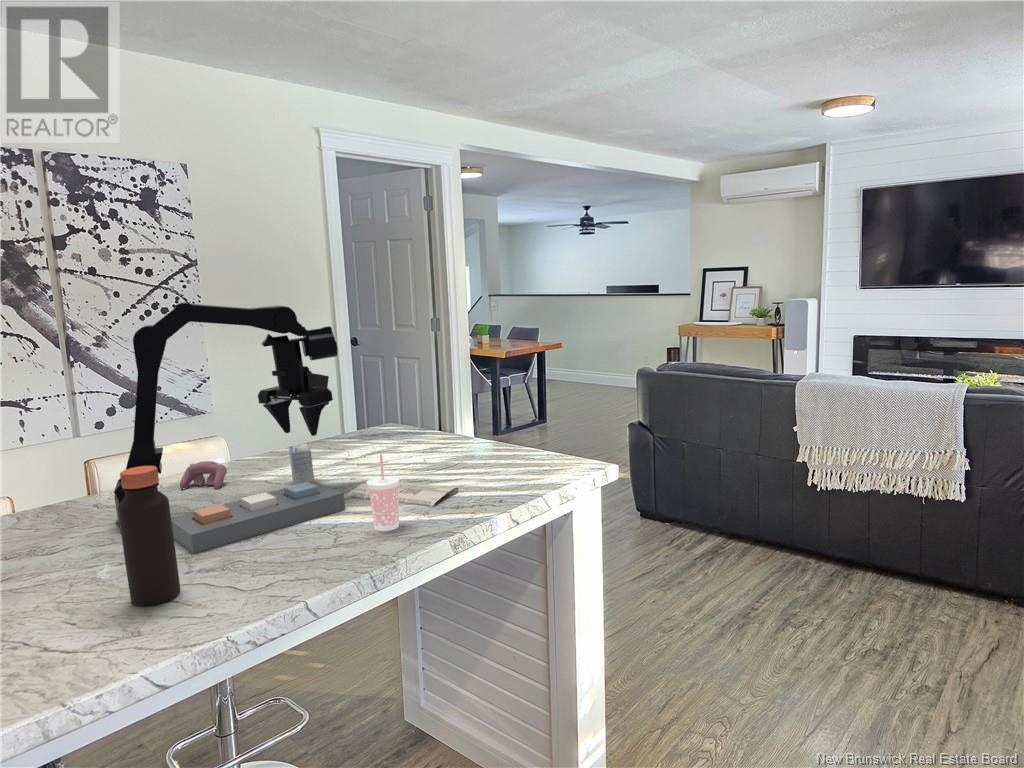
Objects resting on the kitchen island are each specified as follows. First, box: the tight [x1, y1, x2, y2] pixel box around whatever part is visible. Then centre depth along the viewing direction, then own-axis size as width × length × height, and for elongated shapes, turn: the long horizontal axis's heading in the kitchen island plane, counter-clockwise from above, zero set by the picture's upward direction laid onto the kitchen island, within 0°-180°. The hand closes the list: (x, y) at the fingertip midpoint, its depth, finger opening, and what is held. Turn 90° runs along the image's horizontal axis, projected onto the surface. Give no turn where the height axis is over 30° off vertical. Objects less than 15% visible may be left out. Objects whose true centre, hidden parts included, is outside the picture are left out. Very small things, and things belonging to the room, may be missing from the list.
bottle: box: [118, 466, 181, 607], centre depth 104 cm, size 7×7×20 cm
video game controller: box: [179, 460, 228, 490], centre depth 164 cm, size 10×5×7 cm, turn 85°
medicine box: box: [288, 443, 315, 485], centre depth 161 cm, size 8×4×9 cm, turn 22°
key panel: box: [171, 480, 346, 555], centre depth 137 cm, size 30×13×4 cm, turn 133°
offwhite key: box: [240, 491, 277, 512], centre depth 136 cm, size 5×5×3 cm
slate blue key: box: [283, 482, 319, 500], centre depth 142 cm, size 5×5×3 cm
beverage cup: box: [366, 454, 400, 532], centre depth 130 cm, size 6×6×14 cm
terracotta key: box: [192, 503, 231, 525], centre depth 130 cm, size 5×5×3 cm
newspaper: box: [346, 481, 459, 508], centre depth 151 cm, size 23×12×2 cm, turn 65°
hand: (300, 434), depth 152 cm, fingers open, 9 cm apart
